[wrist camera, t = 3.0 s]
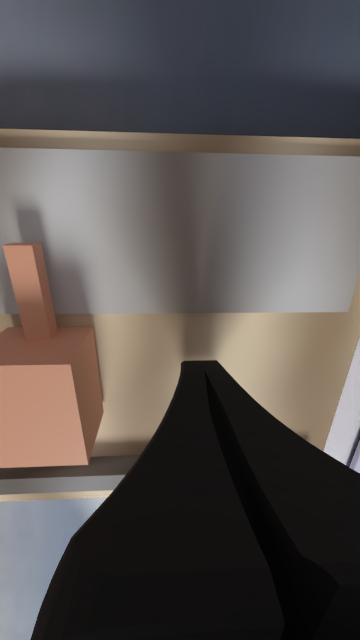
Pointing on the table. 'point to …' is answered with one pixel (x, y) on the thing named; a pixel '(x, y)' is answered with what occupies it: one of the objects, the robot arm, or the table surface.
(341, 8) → the table surface
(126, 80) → the table surface
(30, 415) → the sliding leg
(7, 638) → the table surface
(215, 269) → the plate
